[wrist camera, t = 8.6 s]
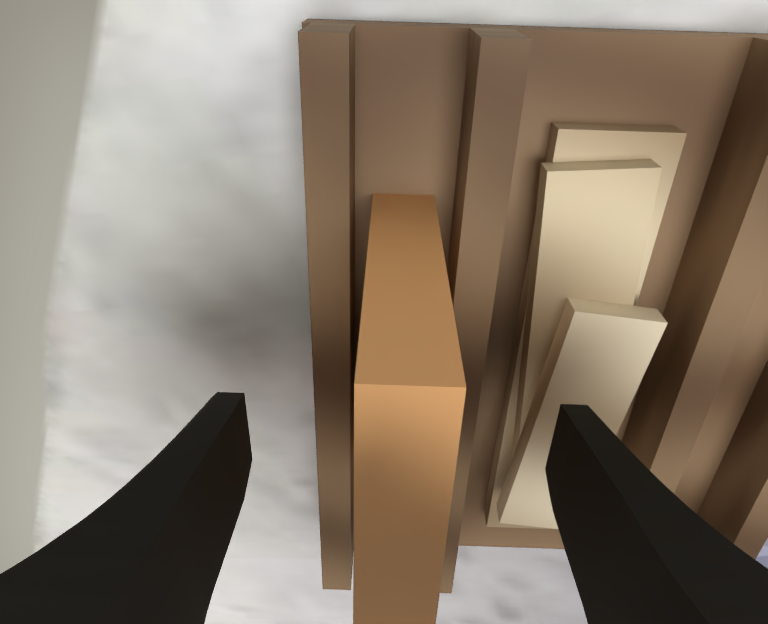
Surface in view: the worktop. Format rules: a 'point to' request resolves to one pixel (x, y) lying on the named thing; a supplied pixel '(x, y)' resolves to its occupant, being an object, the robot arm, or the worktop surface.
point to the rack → (514, 232)
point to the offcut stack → (581, 300)
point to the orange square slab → (404, 415)
